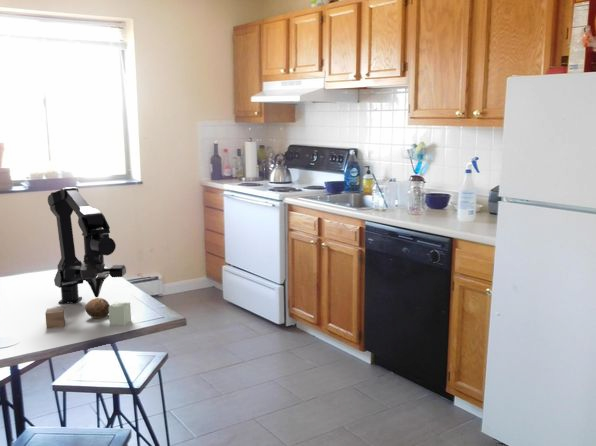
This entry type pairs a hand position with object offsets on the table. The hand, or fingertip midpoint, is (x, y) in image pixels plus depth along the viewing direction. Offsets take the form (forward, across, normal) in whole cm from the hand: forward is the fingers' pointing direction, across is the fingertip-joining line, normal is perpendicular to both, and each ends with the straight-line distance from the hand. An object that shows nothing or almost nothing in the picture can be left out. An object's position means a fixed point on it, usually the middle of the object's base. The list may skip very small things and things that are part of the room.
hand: (96, 296), depth 193 cm
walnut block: (+7, -11, -8) cm, 15 cm away
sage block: (+7, +9, -7) cm, 13 cm away
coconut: (+7, 0, 0) cm, 7 cm away
